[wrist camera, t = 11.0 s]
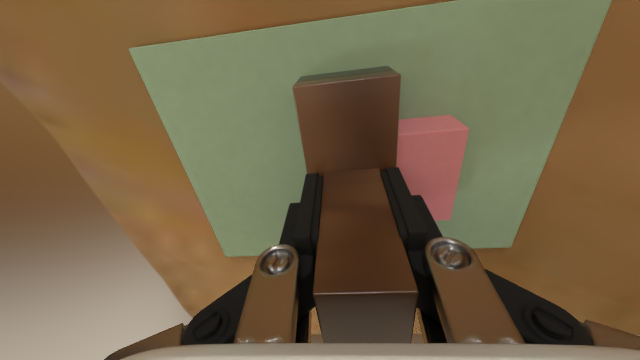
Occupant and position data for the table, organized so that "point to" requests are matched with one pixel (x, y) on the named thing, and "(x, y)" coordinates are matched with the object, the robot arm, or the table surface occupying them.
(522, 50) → the desk pad
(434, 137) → the eraser
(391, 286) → the brown t-shaped block
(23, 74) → the table surface
